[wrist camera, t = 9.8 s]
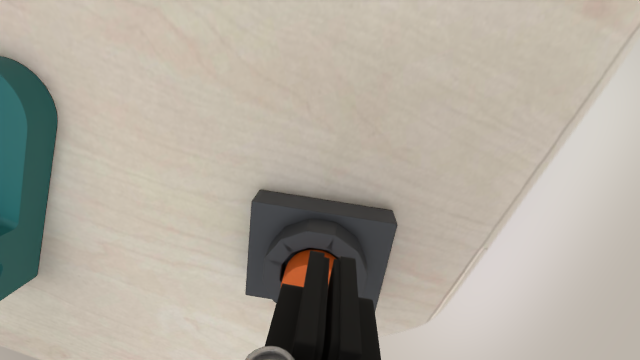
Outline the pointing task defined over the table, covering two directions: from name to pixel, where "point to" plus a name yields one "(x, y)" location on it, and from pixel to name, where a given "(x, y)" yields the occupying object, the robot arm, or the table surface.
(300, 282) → the button
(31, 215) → the bracket
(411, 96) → the table surface
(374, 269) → the control block
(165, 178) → the table surface
